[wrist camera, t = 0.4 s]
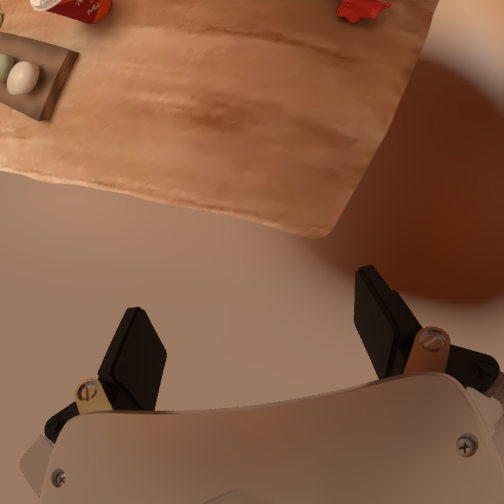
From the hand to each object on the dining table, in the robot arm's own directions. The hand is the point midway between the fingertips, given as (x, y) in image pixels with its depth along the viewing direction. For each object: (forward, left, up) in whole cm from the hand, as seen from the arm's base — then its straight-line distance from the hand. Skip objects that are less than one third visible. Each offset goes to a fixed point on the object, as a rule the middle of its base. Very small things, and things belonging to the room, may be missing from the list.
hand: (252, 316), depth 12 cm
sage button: (+1, -47, -26) cm, 53 cm away
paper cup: (-13, -36, -31) cm, 49 cm away
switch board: (+1, -47, -31) cm, 56 cm away
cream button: (+1, -39, -26) cm, 47 cm away
